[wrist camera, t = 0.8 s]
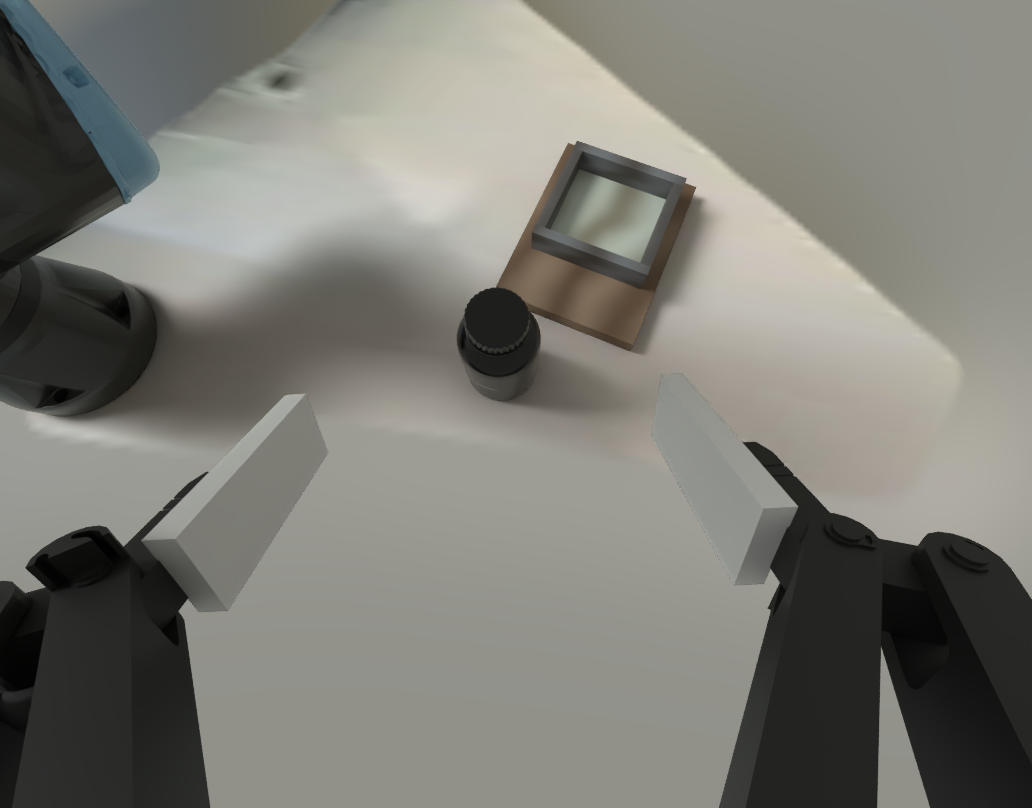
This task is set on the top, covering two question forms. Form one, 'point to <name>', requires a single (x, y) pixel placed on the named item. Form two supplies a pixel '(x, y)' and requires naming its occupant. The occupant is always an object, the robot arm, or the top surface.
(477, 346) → the supplement bottle
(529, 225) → the base board
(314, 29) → the top surface
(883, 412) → the top surface
